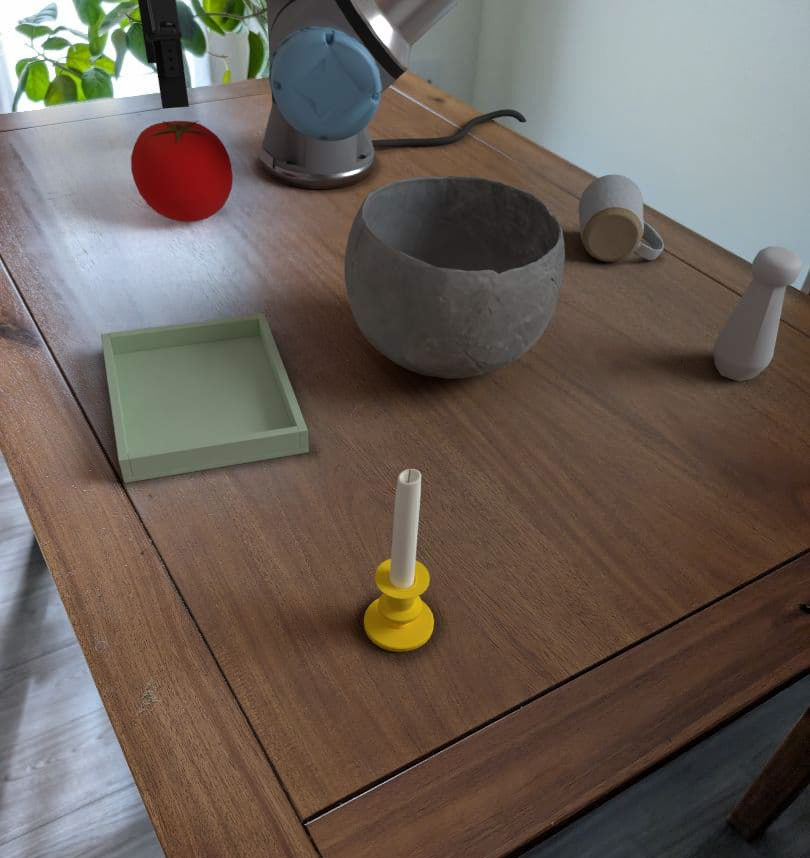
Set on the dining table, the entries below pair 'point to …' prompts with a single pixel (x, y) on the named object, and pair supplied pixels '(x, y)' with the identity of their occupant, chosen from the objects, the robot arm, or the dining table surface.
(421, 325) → the bowl
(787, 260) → the salt shaker
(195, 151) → the tomato
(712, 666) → the dining table surface
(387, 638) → the candle
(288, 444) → the tray
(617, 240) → the ceramic mug
